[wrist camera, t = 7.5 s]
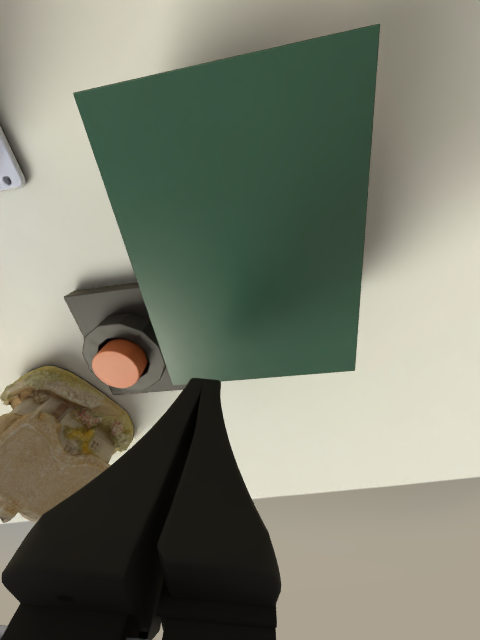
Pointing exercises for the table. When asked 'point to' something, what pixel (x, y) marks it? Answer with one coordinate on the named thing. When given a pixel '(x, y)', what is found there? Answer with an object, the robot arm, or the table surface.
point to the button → (119, 363)
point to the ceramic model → (55, 440)
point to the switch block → (120, 331)
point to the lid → (245, 203)
